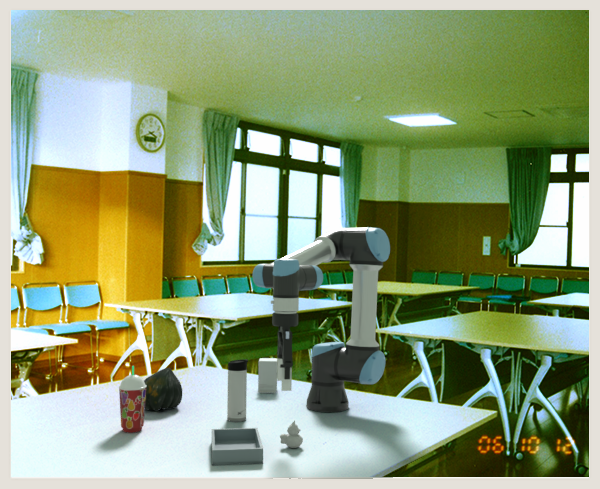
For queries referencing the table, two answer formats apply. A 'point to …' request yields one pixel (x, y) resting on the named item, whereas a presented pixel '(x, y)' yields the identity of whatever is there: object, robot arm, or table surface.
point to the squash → (162, 390)
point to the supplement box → (267, 375)
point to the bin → (236, 446)
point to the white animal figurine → (292, 436)
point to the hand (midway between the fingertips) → (284, 385)
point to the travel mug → (237, 390)
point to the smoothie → (132, 403)
